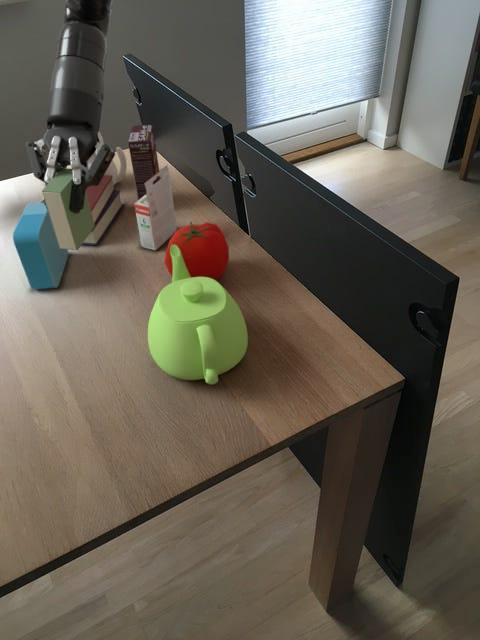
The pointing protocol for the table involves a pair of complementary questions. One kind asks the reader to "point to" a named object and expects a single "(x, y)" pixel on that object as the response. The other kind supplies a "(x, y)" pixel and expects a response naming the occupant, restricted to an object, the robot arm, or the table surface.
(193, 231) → the tomato
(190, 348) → the teapot
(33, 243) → the blue rounded block
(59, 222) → the green rectangular block
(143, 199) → the ink box
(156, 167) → the supplement box
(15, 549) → the table surface
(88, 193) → the book stack
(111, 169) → the cat figurine
